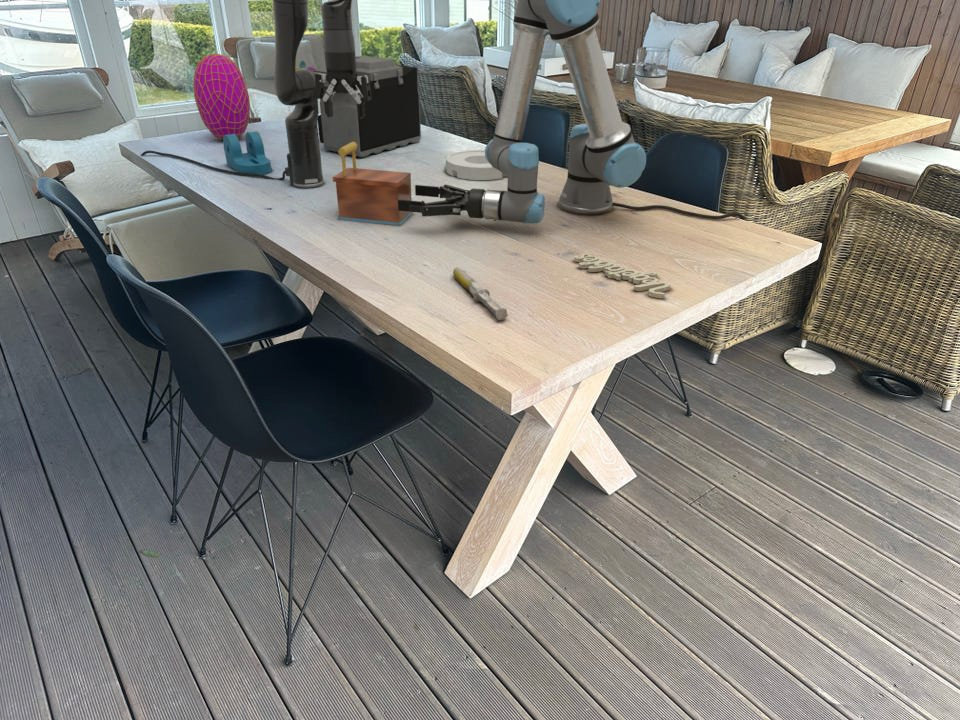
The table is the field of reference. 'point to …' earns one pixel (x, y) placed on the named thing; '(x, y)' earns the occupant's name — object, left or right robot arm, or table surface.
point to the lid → (367, 172)
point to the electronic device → (374, 110)
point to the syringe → (479, 293)
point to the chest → (372, 202)
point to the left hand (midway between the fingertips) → (345, 117)
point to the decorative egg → (221, 96)
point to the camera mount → (246, 154)
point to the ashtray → (471, 166)
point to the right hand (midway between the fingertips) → (407, 197)
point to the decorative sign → (625, 274)
